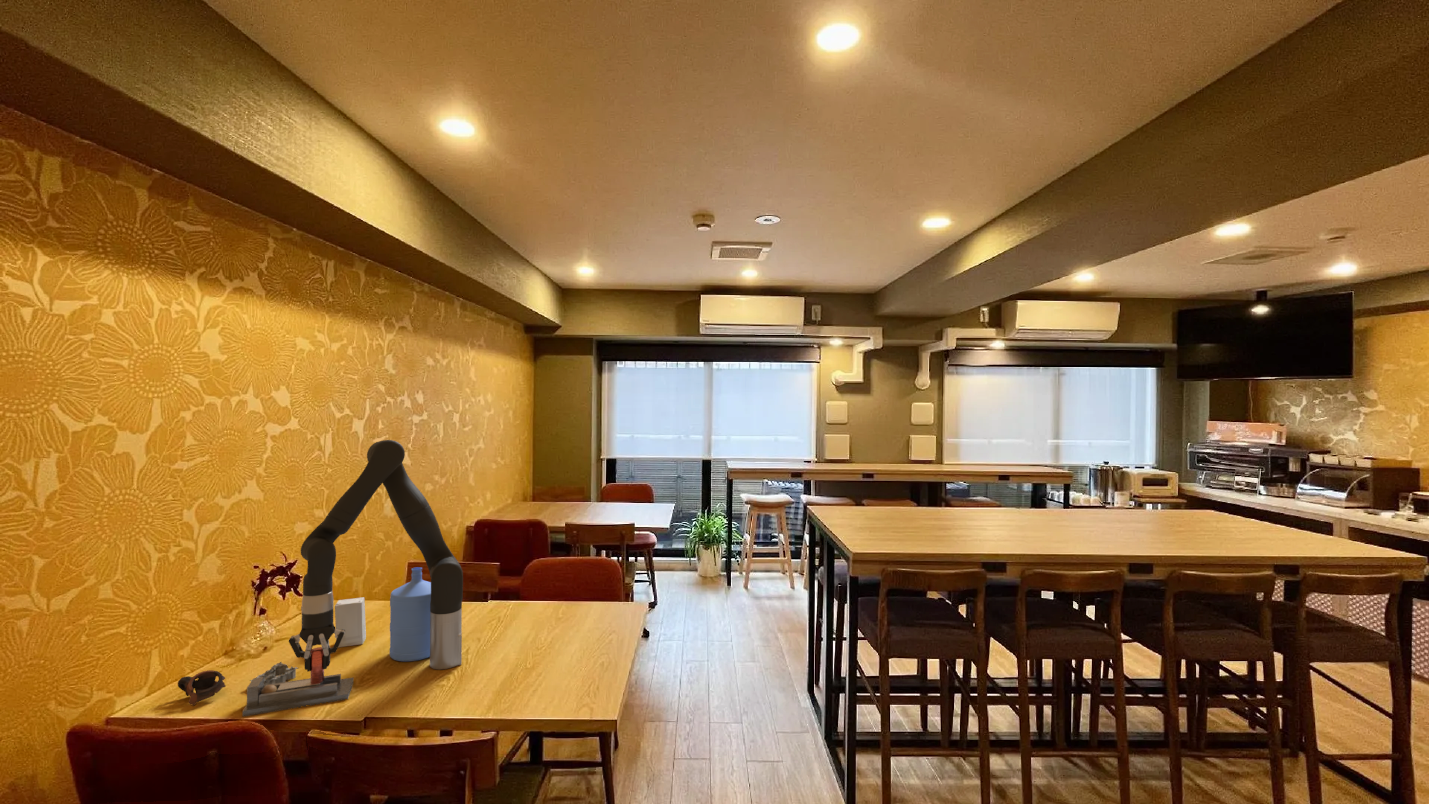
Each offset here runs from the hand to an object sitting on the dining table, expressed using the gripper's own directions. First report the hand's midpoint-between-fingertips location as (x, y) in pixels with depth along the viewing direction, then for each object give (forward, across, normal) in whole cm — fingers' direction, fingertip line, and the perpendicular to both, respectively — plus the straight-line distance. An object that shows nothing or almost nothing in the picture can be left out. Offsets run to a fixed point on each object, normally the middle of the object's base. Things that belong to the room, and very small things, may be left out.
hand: (317, 668), depth 171 cm
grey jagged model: (+8, +13, -15) cm, 21 cm away
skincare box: (+8, -3, -39) cm, 40 cm away
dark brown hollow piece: (+8, +30, -12) cm, 33 cm away
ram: (+6, +4, 0) cm, 7 cm away
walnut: (+6, +11, 0) cm, 13 cm away
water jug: (+8, -24, -22) cm, 34 cm away
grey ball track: (+8, +4, 0) cm, 9 cm away
